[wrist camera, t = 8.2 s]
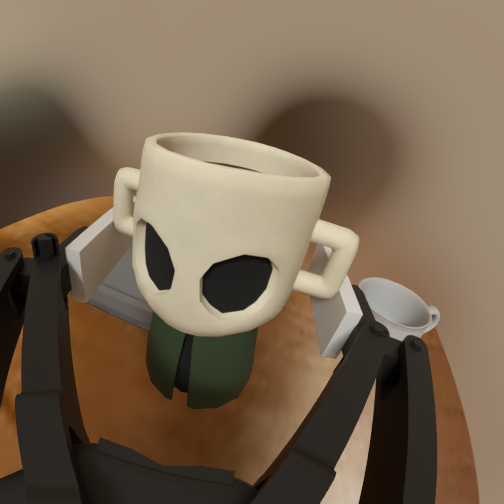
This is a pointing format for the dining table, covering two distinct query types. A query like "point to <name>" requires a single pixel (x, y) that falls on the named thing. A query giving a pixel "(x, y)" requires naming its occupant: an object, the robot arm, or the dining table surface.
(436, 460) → the robot arm
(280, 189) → the character mug
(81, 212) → the dining table surface
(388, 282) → the teacup
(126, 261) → the tray
